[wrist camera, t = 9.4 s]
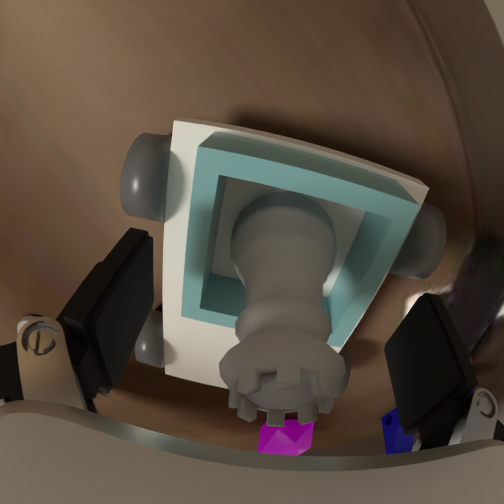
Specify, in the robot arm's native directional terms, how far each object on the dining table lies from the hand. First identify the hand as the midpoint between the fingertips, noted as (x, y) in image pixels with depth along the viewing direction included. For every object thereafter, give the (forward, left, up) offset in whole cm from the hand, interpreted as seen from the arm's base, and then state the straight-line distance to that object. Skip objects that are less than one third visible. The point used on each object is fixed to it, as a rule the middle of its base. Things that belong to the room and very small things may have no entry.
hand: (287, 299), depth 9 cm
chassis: (-5, 0, -7) cm, 9 cm away
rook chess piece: (0, 0, -4) cm, 4 cm away
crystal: (-26, -8, -7) cm, 28 cm away
